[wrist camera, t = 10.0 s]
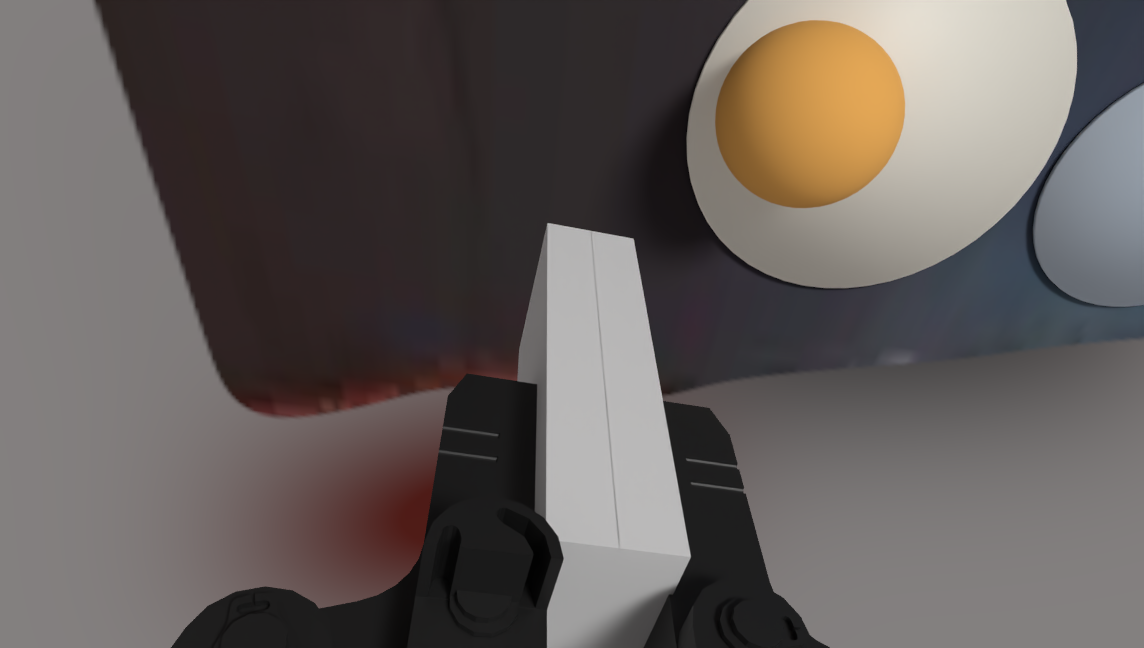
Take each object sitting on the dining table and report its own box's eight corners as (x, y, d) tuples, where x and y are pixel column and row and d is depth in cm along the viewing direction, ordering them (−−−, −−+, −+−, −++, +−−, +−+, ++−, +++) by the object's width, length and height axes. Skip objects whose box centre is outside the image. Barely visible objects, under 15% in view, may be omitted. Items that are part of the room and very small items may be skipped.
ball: (692, 17, 22) (772, 8, 26) (674, 205, 24) (749, 170, 28) (892, 36, 19) (946, 23, 23) (848, 247, 21) (904, 202, 25)
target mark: (1159, -30, 24) (1163, -29, 24) (952, 309, 31) (954, 312, 31) (764, -133, 22) (765, -132, 22) (643, 254, 29) (643, 256, 29)
